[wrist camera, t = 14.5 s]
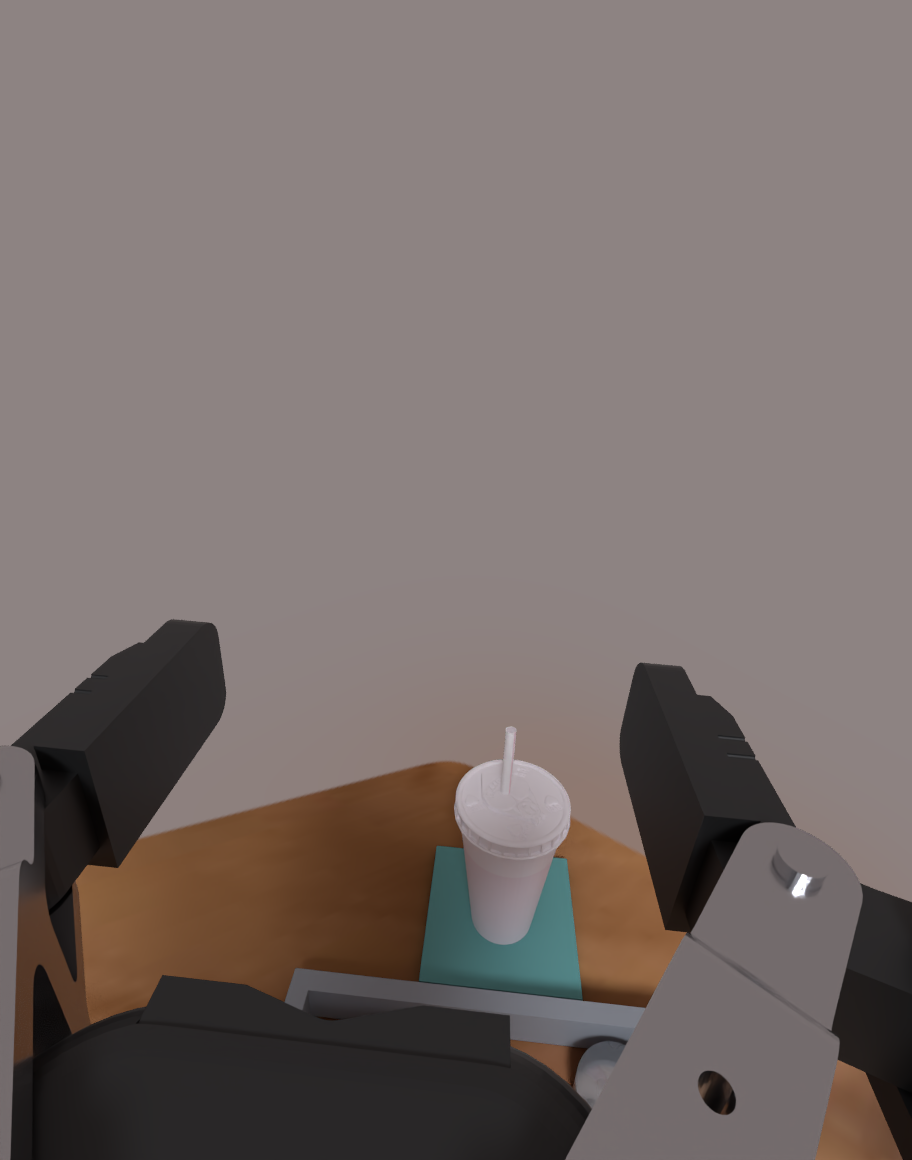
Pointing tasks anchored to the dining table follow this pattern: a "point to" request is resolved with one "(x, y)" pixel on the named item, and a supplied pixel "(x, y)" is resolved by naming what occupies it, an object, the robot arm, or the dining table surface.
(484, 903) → the smoothie
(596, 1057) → the silver round puck
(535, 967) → the teal mat
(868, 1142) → the dining table surface
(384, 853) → the dining table surface
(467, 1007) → the grey rectangular frame
